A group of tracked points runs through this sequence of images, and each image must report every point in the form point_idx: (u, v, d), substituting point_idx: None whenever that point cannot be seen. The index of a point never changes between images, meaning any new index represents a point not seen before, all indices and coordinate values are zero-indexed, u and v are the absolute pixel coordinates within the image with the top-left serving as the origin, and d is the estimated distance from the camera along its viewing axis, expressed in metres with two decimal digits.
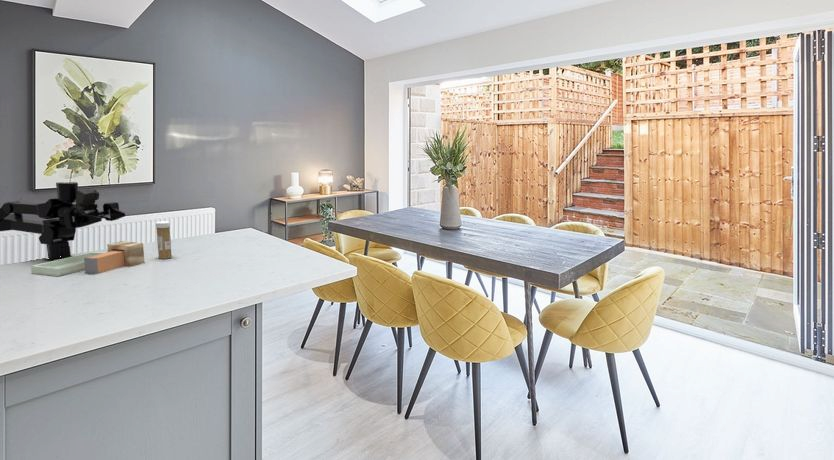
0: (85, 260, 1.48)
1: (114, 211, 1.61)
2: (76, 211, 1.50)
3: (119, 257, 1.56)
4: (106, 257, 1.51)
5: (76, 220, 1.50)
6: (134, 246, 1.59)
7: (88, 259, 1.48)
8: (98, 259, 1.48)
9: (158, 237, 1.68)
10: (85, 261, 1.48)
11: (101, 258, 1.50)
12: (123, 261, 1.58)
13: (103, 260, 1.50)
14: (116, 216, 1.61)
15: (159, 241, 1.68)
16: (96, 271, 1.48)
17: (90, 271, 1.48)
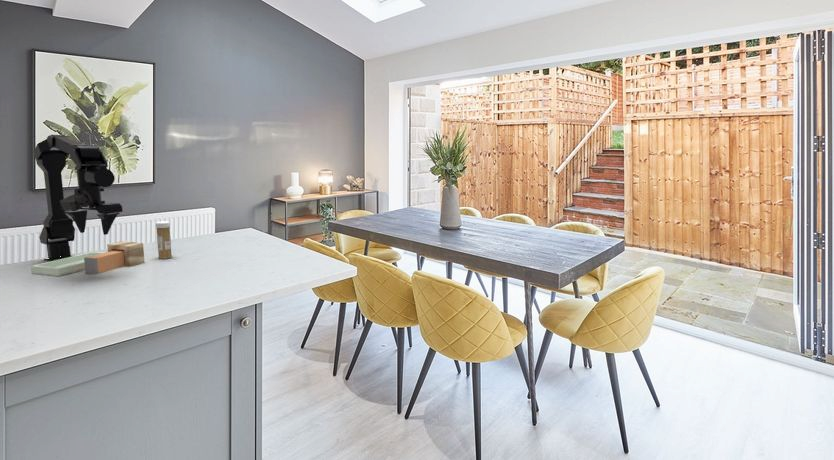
0: (85, 260, 1.48)
1: None
2: (65, 213, 1.47)
3: (119, 257, 1.56)
4: (106, 257, 1.51)
5: None
6: (134, 246, 1.59)
7: (88, 259, 1.48)
8: (98, 259, 1.48)
9: (158, 237, 1.68)
10: (85, 261, 1.48)
11: (101, 258, 1.50)
12: (123, 261, 1.58)
13: (103, 260, 1.50)
14: None
15: (159, 241, 1.68)
16: (96, 271, 1.48)
17: (90, 271, 1.48)
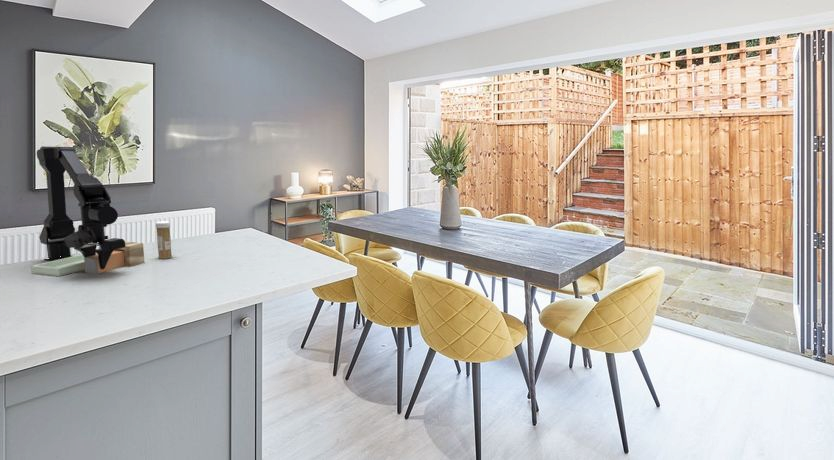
0: (85, 260, 1.48)
1: None
2: (75, 249, 1.48)
3: (119, 257, 1.56)
4: None
5: None
6: (134, 246, 1.59)
7: (88, 259, 1.48)
8: (98, 259, 1.48)
9: (158, 237, 1.68)
10: (85, 261, 1.48)
11: None
12: (123, 261, 1.58)
13: None
14: None
15: (159, 241, 1.68)
16: (96, 271, 1.48)
17: (90, 271, 1.48)
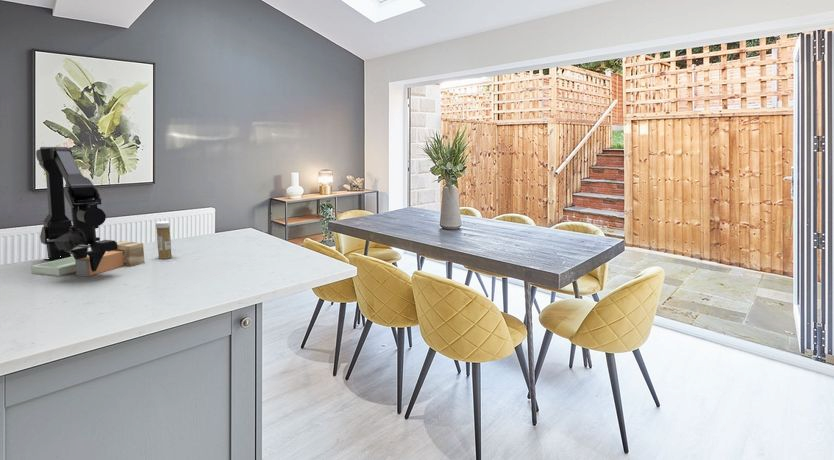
0: (76, 262, 1.45)
1: None
2: (66, 251, 1.45)
3: (111, 259, 1.53)
4: None
5: None
6: (134, 246, 1.59)
7: (79, 261, 1.45)
8: (89, 261, 1.45)
9: (158, 237, 1.68)
10: (76, 263, 1.45)
11: None
12: (115, 263, 1.55)
13: None
14: None
15: (159, 241, 1.68)
16: (87, 273, 1.45)
17: (81, 273, 1.45)
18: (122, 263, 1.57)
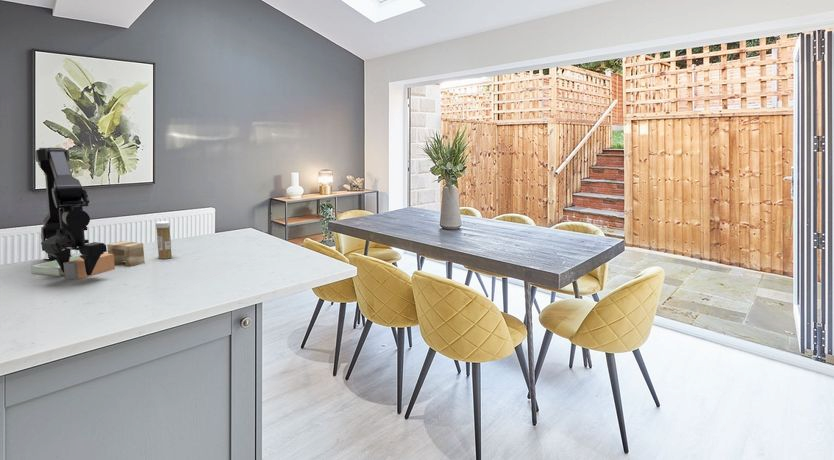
0: (64, 265, 1.41)
1: None
2: (47, 253, 1.42)
3: (101, 262, 1.49)
4: None
5: None
6: (134, 246, 1.59)
7: (68, 264, 1.41)
8: (78, 264, 1.42)
9: (158, 237, 1.68)
10: (64, 266, 1.41)
11: (81, 263, 1.43)
12: (105, 266, 1.51)
13: (84, 265, 1.44)
14: None
15: (159, 241, 1.68)
16: (76, 277, 1.41)
17: (70, 277, 1.42)
18: (112, 266, 1.54)
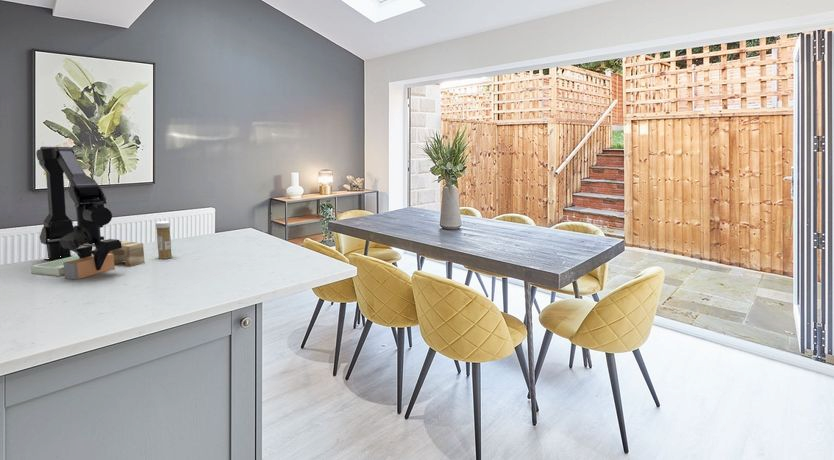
0: (64, 265, 1.41)
1: None
2: (71, 250, 1.47)
3: None
4: (87, 262, 1.45)
5: None
6: (134, 246, 1.59)
7: (67, 264, 1.41)
8: (78, 264, 1.42)
9: (158, 237, 1.68)
10: (64, 266, 1.41)
11: (81, 263, 1.43)
12: (105, 266, 1.51)
13: (84, 265, 1.44)
14: None
15: (159, 241, 1.68)
16: (76, 276, 1.41)
17: (70, 276, 1.42)
18: (112, 266, 1.54)
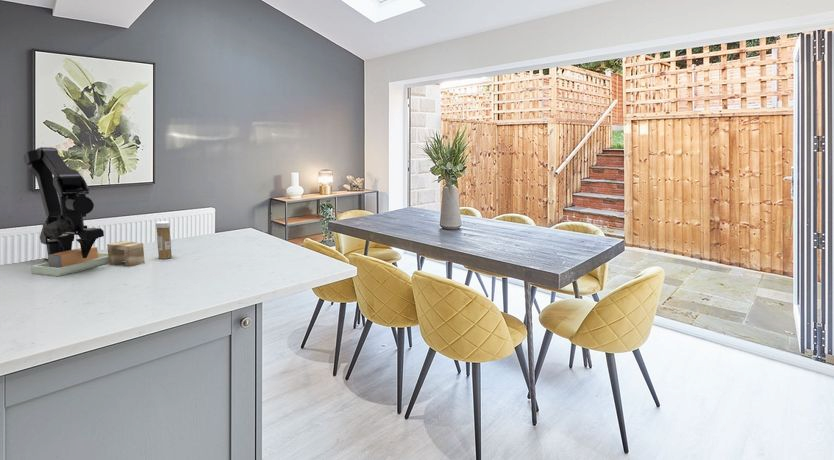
0: (49, 257, 1.48)
1: None
2: (52, 238, 1.53)
3: None
4: (71, 254, 1.51)
5: None
6: (134, 246, 1.59)
7: (52, 256, 1.47)
8: (62, 256, 1.48)
9: (158, 237, 1.68)
10: (49, 258, 1.48)
11: (65, 255, 1.49)
12: (89, 258, 1.58)
13: (68, 257, 1.50)
14: None
15: (159, 241, 1.68)
16: None
17: None
18: (96, 258, 1.60)
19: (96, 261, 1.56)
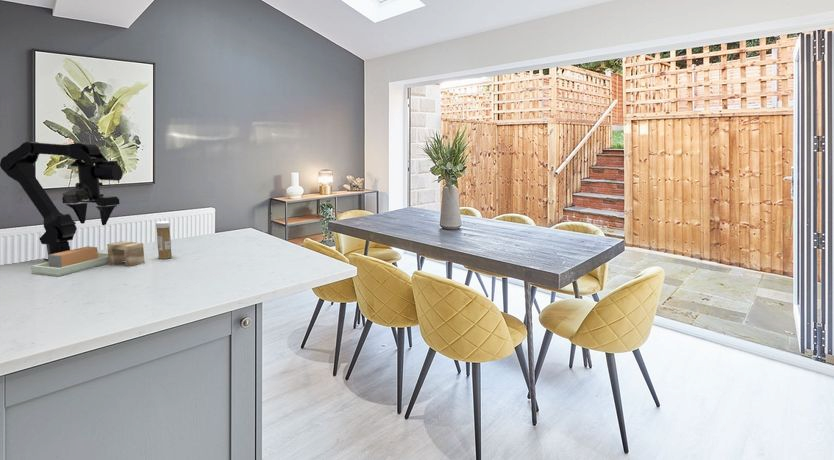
0: (49, 257, 1.48)
1: None
2: (67, 205, 1.60)
3: (84, 255, 1.56)
4: (71, 254, 1.51)
5: None
6: (134, 246, 1.59)
7: (52, 256, 1.47)
8: (62, 256, 1.48)
9: (158, 237, 1.68)
10: (49, 258, 1.48)
11: (65, 255, 1.49)
12: (89, 258, 1.58)
13: (68, 257, 1.50)
14: None
15: (159, 241, 1.68)
16: None
17: None
18: (96, 258, 1.60)
19: (96, 261, 1.56)
